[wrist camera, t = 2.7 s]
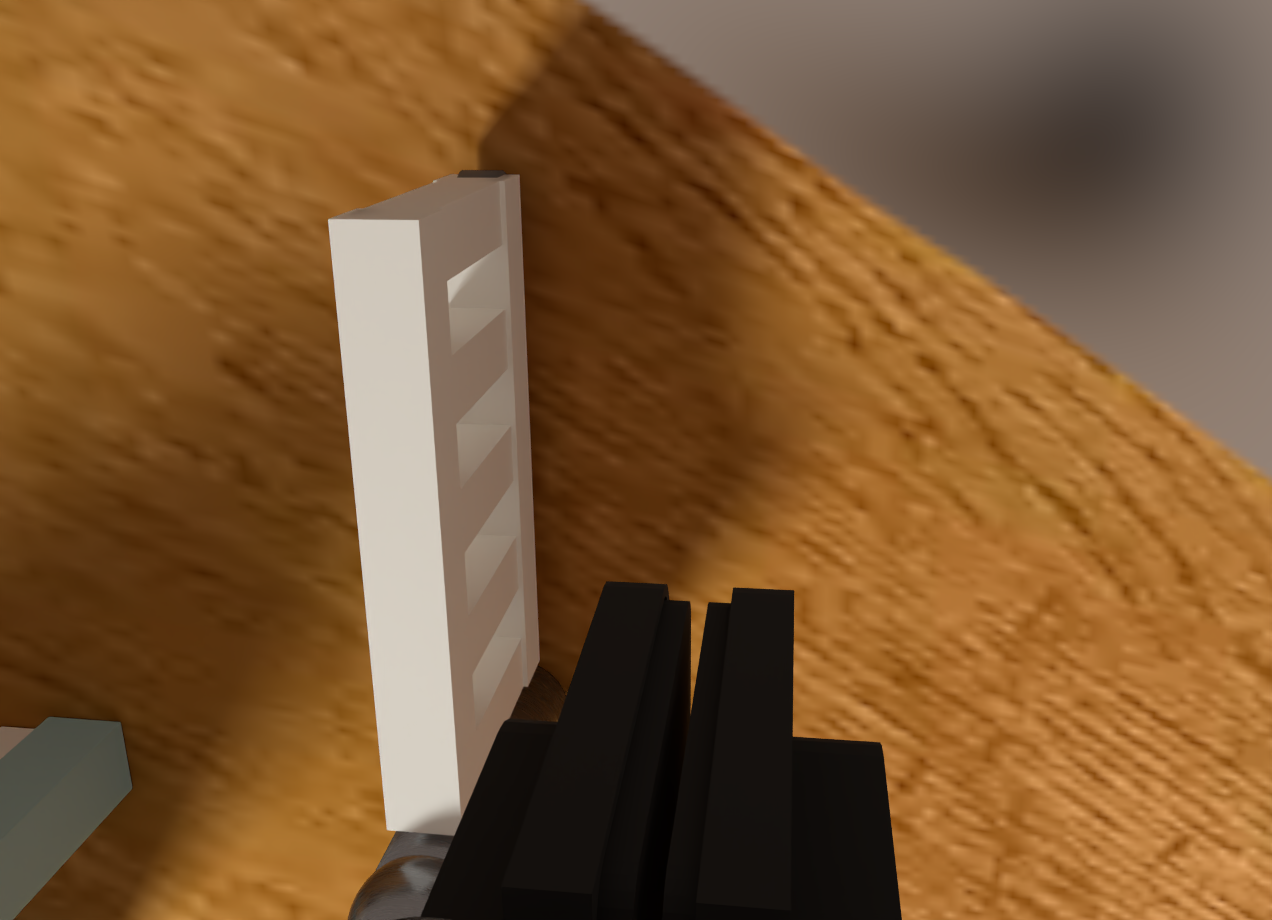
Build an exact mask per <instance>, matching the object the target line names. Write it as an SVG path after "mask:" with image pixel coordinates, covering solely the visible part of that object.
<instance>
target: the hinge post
mask: <svg viewBox="0 0 1272 920" xmlns="http://www.w3.org/2000/svg"><path fill="white" fill-rule="evenodd" d="M565 699H566V695H565V693H564V690H563V689H562V687H561V685H560V684H559V683H558V681H557V680H556V679H555V678H554V677H553V676H552V675H551V674H550V673H548V672H547V671H546V670H544V669H542V668H541V667H539V666H537V668H536V670H535V672H534V674H533V677H532V679H531V681H530V683H529V686H528V687H523V689H522V691H521V693H520V696H519V698H518V700H517V702H516V705H515V707H514V709H513V711H512V714H511V716H510V718H509V719H524V720H539V721H555V722H558V719H559V716H560V713H561V710H562V708H563V705H564V702H565ZM453 838H454V836H452V835H440V834H428V833H416V832H404V831H396V833H395V835H394V837H393V838H392V840H391V842H390V844H389V846H388V848H387V850H386V852H385V854H384V856H383V857H382V859H381V861H380V863H379V865H378V867H377V869H376V871H375V872H374V873H373V874H372V875H371V876H370V877H369V878H368V879H367V880H366V882H365V883H364V884H363V886H362V887H361V888H360V890H359V892H358V893H357V895H356V897H355V899H354V901H353V904H352V906H351V909H350V912H349V916H348V920H394V919H401V918H408V917H415V916H417V917H420V916H421V914H422V911H423V909H424V906H425V904H426V902H427V899H428V897H429V895H430V892H431V890H432V887H433V885H434V883H435V880H436V878H437V876H438V873H439V871H440V868H441V866H442V864H443V861H444V859H445V857H446V854H447V852H448V849H449V847H450V845H451V842H452V840H453Z"/></svg>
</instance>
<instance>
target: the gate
mask: <svg viewBox="0 0 1272 920" xmlns="http://www.w3.org/2000/svg"><path fill="white" fill-rule="evenodd" d="M328 224H329V235H330V245H331V255H332V266H333V276H334V286H335V297H336V307H337V317H338V328H339V338H340V348H341V359H342V369H343V379H344V390H345V400H346V410H347V421H348V431H349V441H350V452H351V462H352V472H353V483H354V493H355V503H356V514H357V524H358V534H359V545H360V555H361V565H362V576H363V586H364V596H365V607H366V617H367V627H368V638H369V648H370V658H371V669H372V679H373V689H374V700H375V710H376V720H377V731H378V741H379V751H380V762H381V772H382V782H383V793H384V803H385V813H386V824H387V830H392V831H404V832H416V833H428V834H440V835H452V836H454V835H455V833H456V830H457V828H458V826H459V823H460V821H461V819H462V816H463V814H464V811H465V809H466V807H467V804H468V802H469V799H470V797H471V795H472V792H473V790H474V788H475V785H476V783H477V780H478V778H479V776H480V773H481V771H482V769H483V766H484V764H485V761H486V759H487V757H488V754H489V752H490V750H491V747H492V745H493V742H494V740H495V738H496V735H497V733H498V731H499V729H500V727H501V726H502V724H503V722H504V721H505V720H507V719H509V718H510V716H511V714H512V711H513V709H514V707H515V705H516V702H517V700H518V698H519V696H520V693H521V691H522V689H523V687H528V686H529V683H530V681H531V679H532V677H533V674H534V672H535V670H536V668H537V665H538V663H539V661H540V653H539V629H538V605H537V581H536V558H535V534H534V510H533V486H532V462H531V438H530V414H529V390H528V366H527V343H526V319H525V295H524V271H523V247H522V223H521V199H520V175H513V174H506V173H505V172H504V171H503V170H462V171H460V173H459V174H450V175H448V176H445V177H442V178H439V179H437V180H434V181H433V183H431V184H428V185H426V186H423V187H420V188H417V189H415V190H412V191H409V192H407V193H404V194H401V195H398V196H396V197H393V198H390V199H388V200H385V201H382V202H380V203H377V204H374V205H371V206H369V207H366V208H363V209H354V210H352V211H349V212H346V213H343V214H341V215H338V216H335V217H333V218H330V219H328Z"/></svg>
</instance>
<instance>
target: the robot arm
mask: <svg viewBox="0 0 1272 920" xmlns="http://www.w3.org/2000/svg"><path fill="white" fill-rule="evenodd" d="M793 650H794V590H773V589H753V588H733V593H732V601H731V603H713V602H709V603H708V608H707V614H706V621H705V627H704V633H703V640H702V646H701V652H700V659H699V665H698V672H697V678H696V684H695V691H694V697H693V704H692V710H691V716H690V706H691V606H690V601H674V600H669V592H668V586H667V584H650V583H629V582H609V581H606V583H605V585H604V588H603V591H602V594H601V597H600V600H599V603H598V605H597V608H596V611H595V614H594V617H593V620H592V623H591V626H590V629H589V632H588V635H587V638H586V640H585V643H584V646H583V649H582V652H581V655H580V658H579V661H578V664H577V667H576V670H575V673H574V675H573V678H572V681H571V684H570V687H569V690H568V693H567V696H566V699H565V702H564V705H563V708H562V710H561V713H560V716H559V719H558V722H555V721H539V720H524V719H507V720H505V721H504V722H503V724H502V726H501V727H500V729H499V731H498V733H497V735H496V738H495V740H494V742H493V745H492V747H491V750H490V752H489V754H488V757H487V759H486V761H485V764H484V766H483V769H482V771H481V773H480V776H479V778H478V780H477V783H476V785H475V788H474V790H473V792H472V795H471V797H470V799H469V802H468V804H467V807H466V809H465V811H464V814H463V816H462V819H461V821H460V823H459V826H458V828H457V830H456V833H455V835H454V838H453V840H452V842H451V845H450V847H449V849H448V852H447V854H446V857H445V859H444V861H443V864H442V866H441V868H440V871H439V873H438V876H437V878H436V880H435V883H434V885H433V887H432V890H431V892H430V895H429V897H428V899H427V902H426V904H425V906H424V909H423V911H422V914H421V916H420V917H417V916H415V917H408V918H401V919H394V920H902V917H901V908H900V899H899V890H898V881H897V872H896V863H895V854H894V845H893V836H892V827H891V818H890V809H889V800H888V791H887V782H886V773H885V764H884V756H883V750H882V745H881V744H880V742H865V741H850V740H834V739H819V738H803V737H793Z"/></svg>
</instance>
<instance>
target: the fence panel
mask: <svg viewBox="0 0 1272 920" xmlns="http://www.w3.org/2000/svg"><path fill="white" fill-rule="evenodd" d="M33 730H34V729H29V728H16V727H3V726H2V727H1V728H0V759H1V758H2V757H4V756H5V755H6V754H7V753H8V752H9V751H10V750H11V749H13V748H14V747H15V746H16V745H17V744H18V743H19V742H21V741H22V740H23V739H24V738H25V737H26V736H27V735H28V734H30V733H31V732H32V731H33Z"/></svg>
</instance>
